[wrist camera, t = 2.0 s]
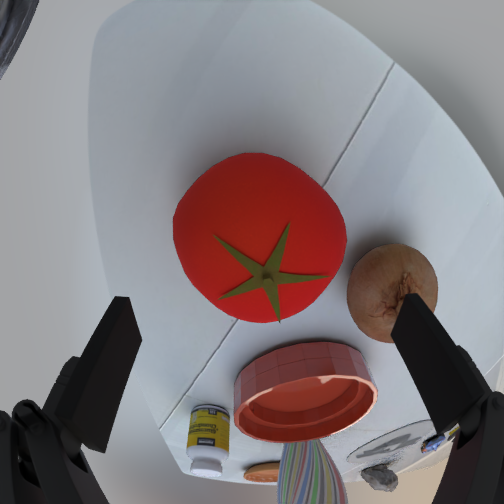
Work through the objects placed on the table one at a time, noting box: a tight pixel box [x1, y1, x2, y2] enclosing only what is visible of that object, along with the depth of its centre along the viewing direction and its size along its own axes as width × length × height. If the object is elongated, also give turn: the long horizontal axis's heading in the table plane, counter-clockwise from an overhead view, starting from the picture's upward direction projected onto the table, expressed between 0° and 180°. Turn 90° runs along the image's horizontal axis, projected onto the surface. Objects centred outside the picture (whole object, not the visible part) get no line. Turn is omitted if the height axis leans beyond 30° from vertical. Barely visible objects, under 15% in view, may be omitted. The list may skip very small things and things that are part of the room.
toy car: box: [421, 433, 445, 454], centre depth 61 cm, size 8×15×5 cm, turn 22°
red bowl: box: [234, 342, 378, 443], centre depth 33 cm, size 19×19×6 cm
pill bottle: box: [186, 405, 230, 477], centre depth 35 cm, size 6×6×12 cm
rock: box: [361, 465, 398, 492], centre depth 65 cm, size 16×10×15 cm, turn 26°
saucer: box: [244, 462, 280, 482], centre depth 56 cm, size 16×16×3 cm
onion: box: [347, 244, 438, 343], centre depth 23 cm, size 10×9×10 cm
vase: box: [277, 439, 348, 504], centre depth 32 cm, size 14×14×30 cm
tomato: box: [173, 153, 347, 323], centre depth 20 cm, size 11×12×10 cm
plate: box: [347, 420, 434, 464], centre depth 56 cm, size 28×28×1 cm
